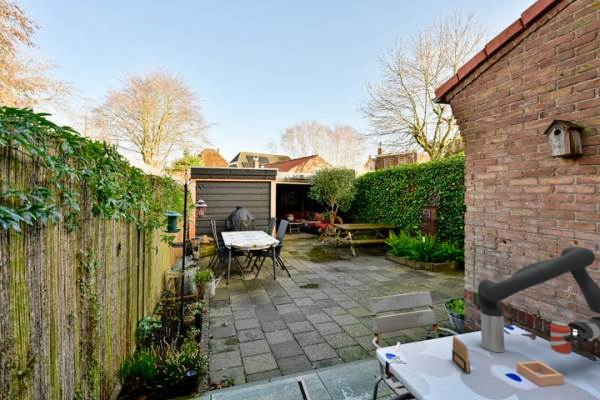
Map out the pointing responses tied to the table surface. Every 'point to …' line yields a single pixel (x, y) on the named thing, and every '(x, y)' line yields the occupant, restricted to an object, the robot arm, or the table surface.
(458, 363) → the ammunition clip
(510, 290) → the robot arm
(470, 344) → the table surface
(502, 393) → the table surface
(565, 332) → the beverage can
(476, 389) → the table surface
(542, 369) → the terracotta collar
